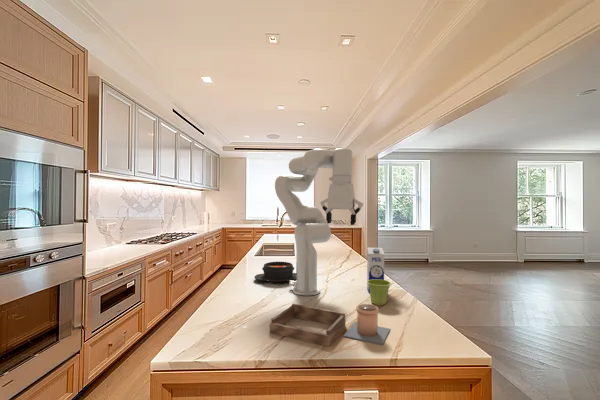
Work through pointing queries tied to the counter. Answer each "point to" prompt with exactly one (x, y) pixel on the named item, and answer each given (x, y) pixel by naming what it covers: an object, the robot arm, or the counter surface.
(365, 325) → the terracotta pot
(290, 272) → the casserole
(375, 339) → the mat
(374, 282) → the plant pot
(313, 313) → the wooden tray
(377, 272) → the milk carton
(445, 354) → the counter surface
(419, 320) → the counter surface
